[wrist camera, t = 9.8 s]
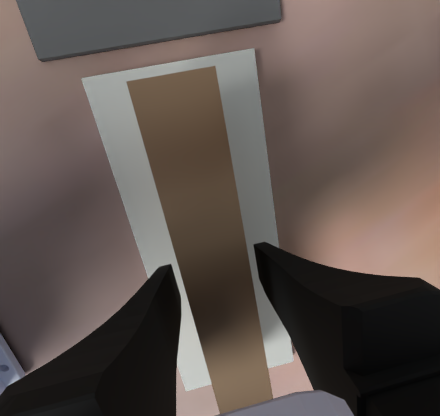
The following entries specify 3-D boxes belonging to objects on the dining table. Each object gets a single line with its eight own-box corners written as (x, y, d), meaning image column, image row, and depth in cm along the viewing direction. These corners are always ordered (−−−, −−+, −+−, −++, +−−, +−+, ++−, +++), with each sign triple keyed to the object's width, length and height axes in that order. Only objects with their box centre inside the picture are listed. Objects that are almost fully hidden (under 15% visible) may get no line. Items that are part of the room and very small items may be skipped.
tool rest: (291, 356, 17) (293, 361, 16) (186, 385, 16) (186, 391, 16) (251, 51, 11) (254, 48, 10) (85, 80, 10) (81, 78, 10)
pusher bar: (252, 349, 15) (280, 440, 11) (218, 358, 15) (231, 455, 10) (204, 101, 11) (215, 65, 6) (155, 110, 11) (126, 81, 6)
